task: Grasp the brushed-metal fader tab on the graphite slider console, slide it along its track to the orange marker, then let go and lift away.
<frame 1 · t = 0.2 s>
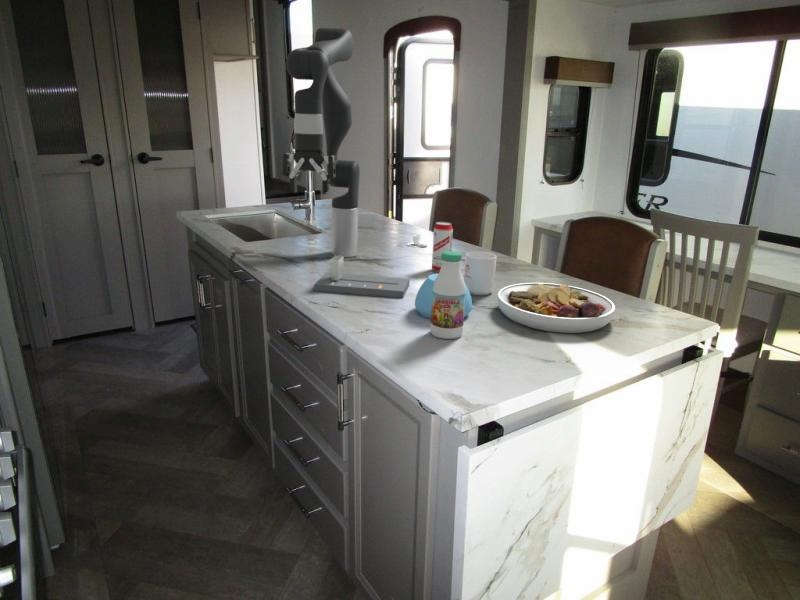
hand: (309, 193, 157), 28 cm above the worktop, fingers open, 8 cm apart
teacup and saucer: (414, 248, 224), on the worktop
milk bottle: (446, 334, 137), on the worktop
fader tab: (336, 267, 169), point 5 cm above the worktop, slide at 0.0 cm
beer can: (440, 271, 191), on the worktop
slider console: (363, 287, 169), on the worktop
sugar bowl: (442, 313, 151), on the worktop
bowl: (552, 317, 152), on the worktop
mug: (475, 290, 172), on the worktop
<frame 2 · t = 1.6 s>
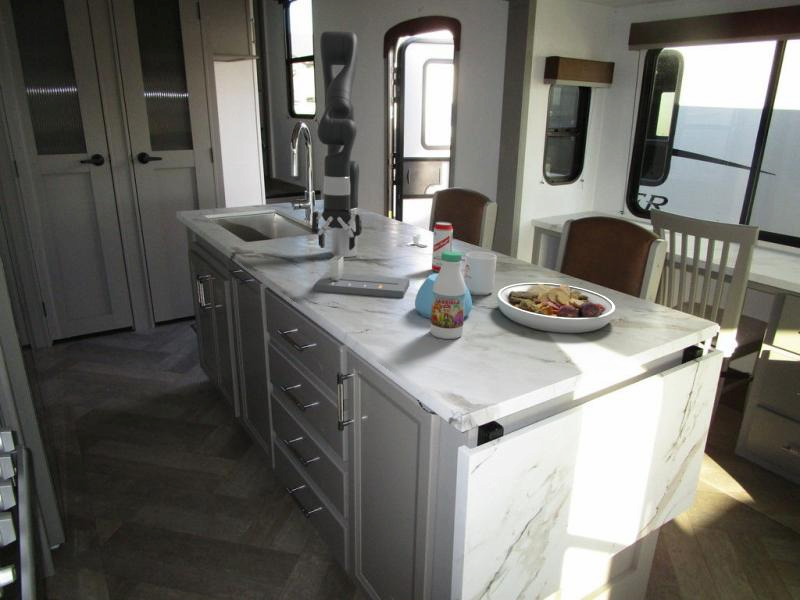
hand: (336, 248, 167), 11 cm above the worktop, fingers open, 8 cm apart
nothing on the worktop moved.
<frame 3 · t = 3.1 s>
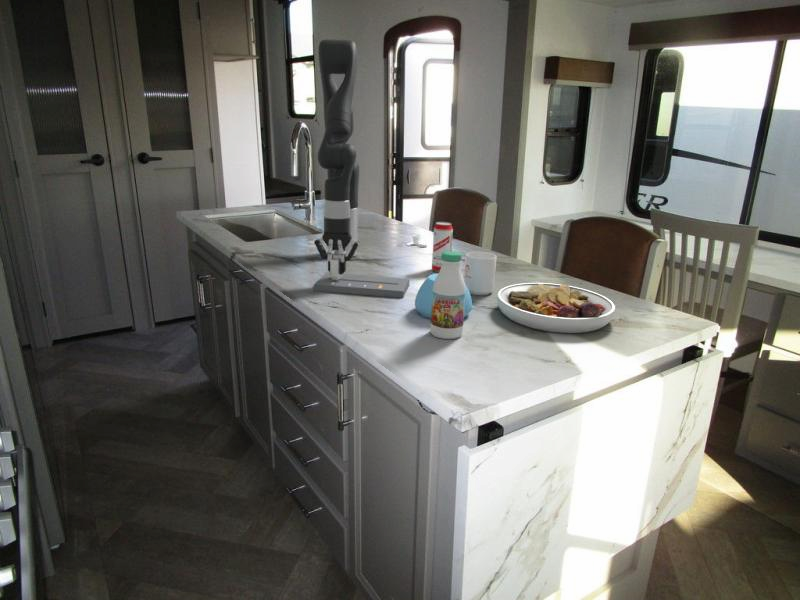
hand: (336, 273, 169), 4 cm above the worktop, fingers closed on fader tab, 2 cm apart
fader tab: (337, 267, 169), point 5 cm above the worktop, slide at 0.0 cm, touching gripper
everything else where it was.
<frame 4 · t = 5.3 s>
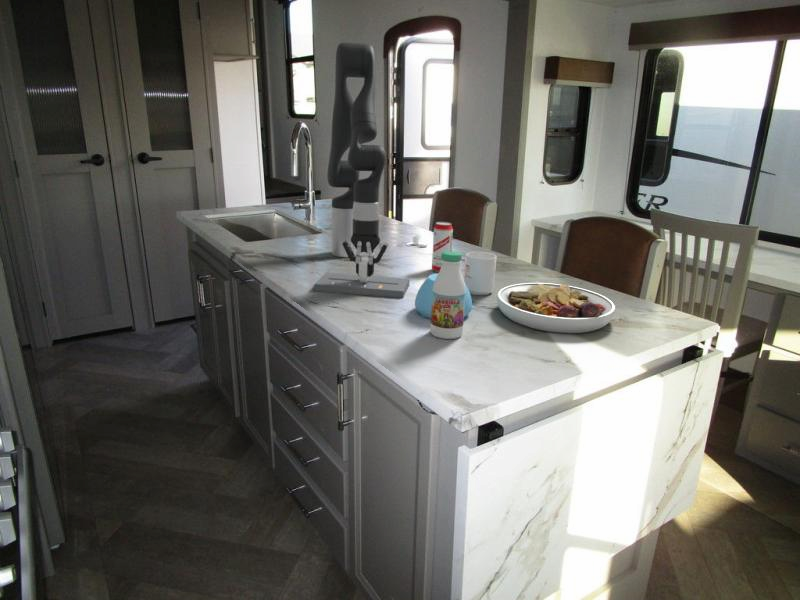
hand: (364, 275, 168), 4 cm above the worktop, fingers closed on fader tab, 2 cm apart
fader tab: (364, 270, 168), point 5 cm above the worktop, slide at 8.5 cm, touching gripper
everything else where it was.
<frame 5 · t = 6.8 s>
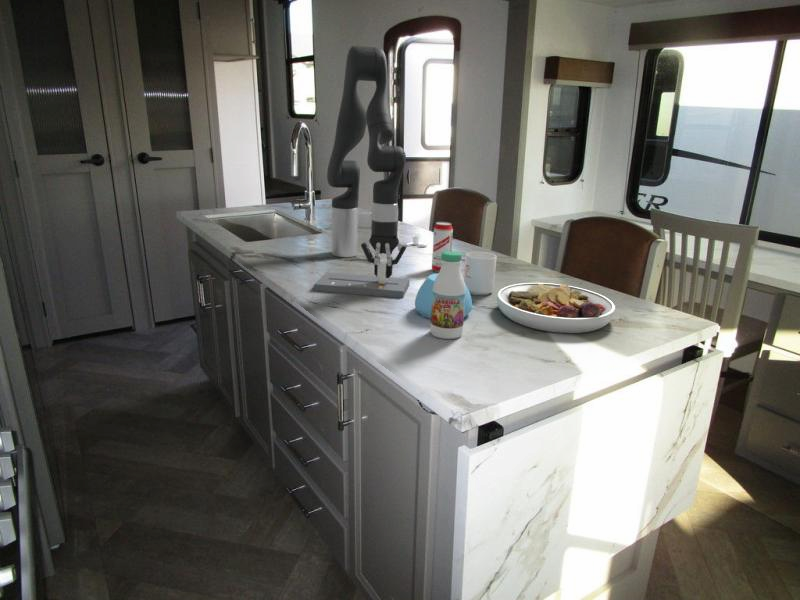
hand: (383, 276, 167), 4 cm above the worktop, fingers closed on fader tab, 2 cm apart
fader tab: (383, 271, 167), point 5 cm above the worktop, slide at 14.0 cm, touching gripper
everything else where it was.
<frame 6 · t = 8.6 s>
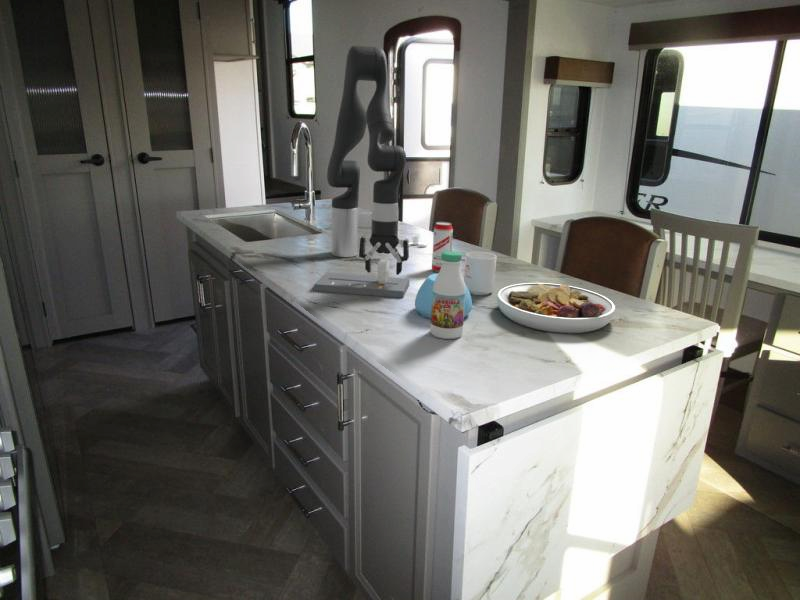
hand: (383, 273, 167), 5 cm above the worktop, fingers open, 8 cm apart
fader tab: (383, 271, 167), point 5 cm above the worktop, slide at 14.0 cm
everything else where it was.
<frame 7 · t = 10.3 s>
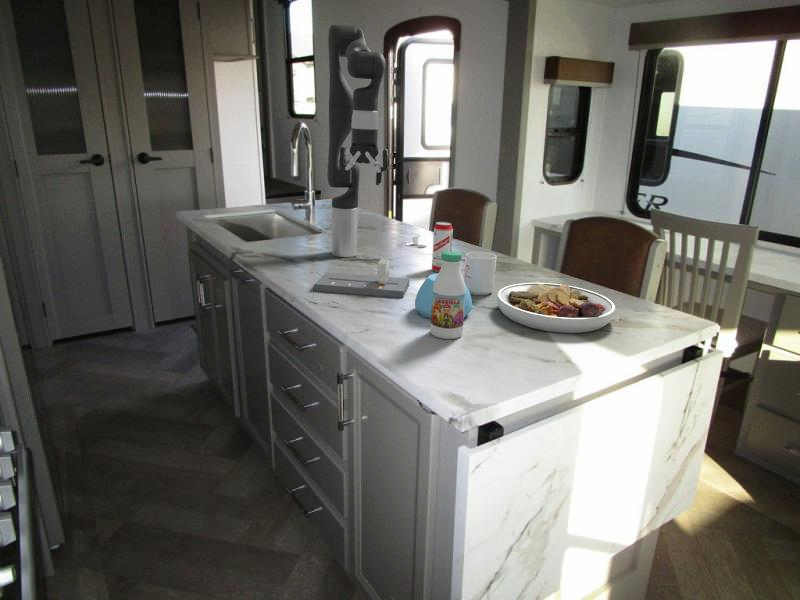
hand: (363, 184, 169), 29 cm above the worktop, fingers open, 8 cm apart
nothing on the worktop moved.
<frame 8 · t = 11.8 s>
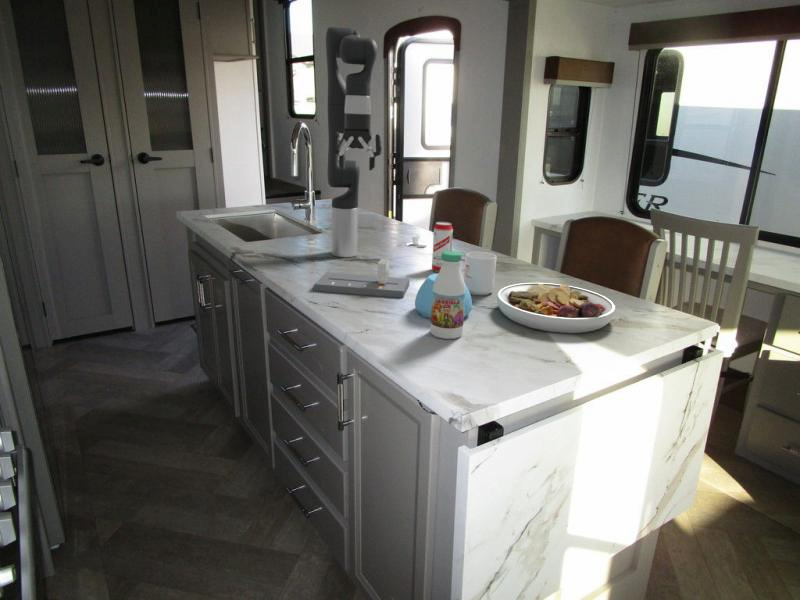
hand: (357, 169, 171), 33 cm above the worktop, fingers open, 8 cm apart
nothing on the worktop moved.
at the end: fader tab slide at 14.0 cm; the gripper is holding nothing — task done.
